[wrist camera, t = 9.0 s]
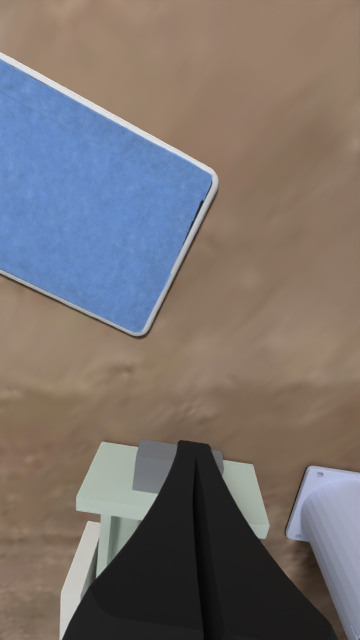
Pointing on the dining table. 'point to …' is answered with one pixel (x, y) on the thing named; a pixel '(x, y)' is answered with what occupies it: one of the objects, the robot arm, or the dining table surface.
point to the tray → (151, 491)
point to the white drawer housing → (80, 574)
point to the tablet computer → (92, 202)
